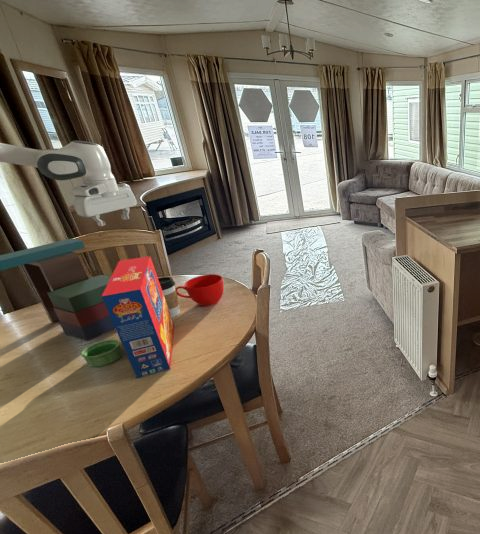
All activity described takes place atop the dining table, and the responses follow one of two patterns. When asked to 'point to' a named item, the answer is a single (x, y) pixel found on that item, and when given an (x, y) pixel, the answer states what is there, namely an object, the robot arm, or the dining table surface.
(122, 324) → the cereal box
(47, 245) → the teal bar
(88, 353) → the ramekin
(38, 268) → the walnut shelf
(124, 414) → the dining table surface
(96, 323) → the book pile
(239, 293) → the dining table surface
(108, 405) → the dining table surface
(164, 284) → the coffee cup
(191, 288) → the ceramic cup
